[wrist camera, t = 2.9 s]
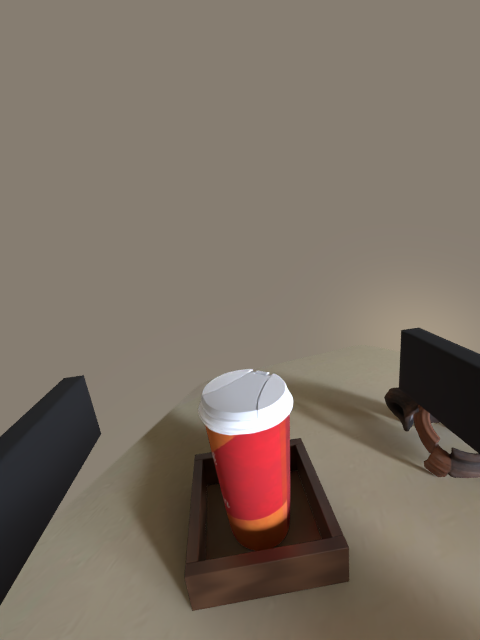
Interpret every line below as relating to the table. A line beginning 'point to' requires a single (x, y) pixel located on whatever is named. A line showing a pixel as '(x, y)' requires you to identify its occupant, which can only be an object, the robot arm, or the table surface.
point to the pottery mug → (432, 438)
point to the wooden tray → (265, 565)
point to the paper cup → (251, 452)
